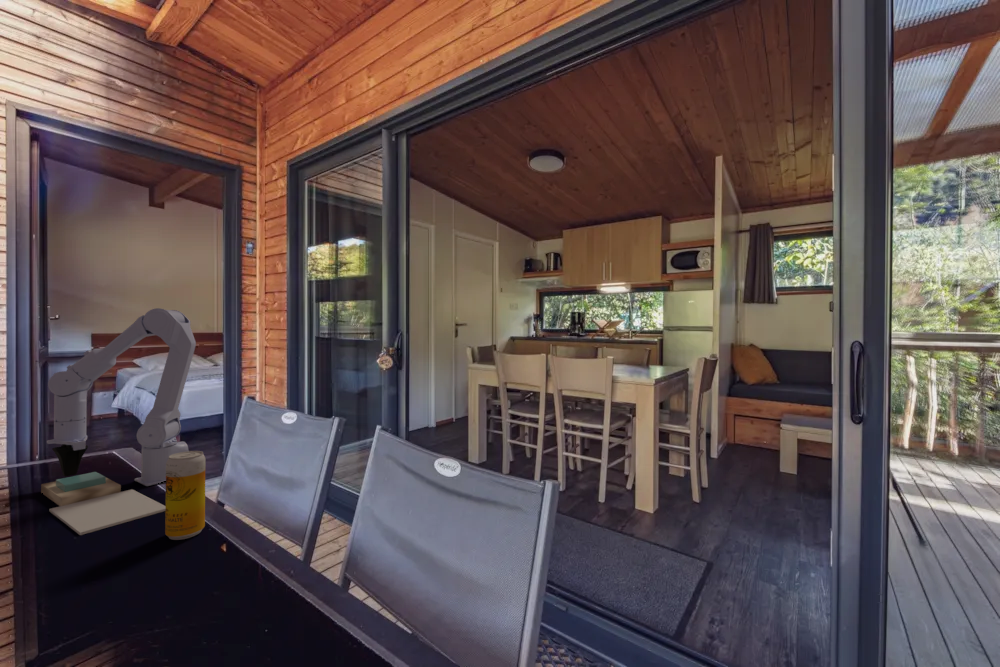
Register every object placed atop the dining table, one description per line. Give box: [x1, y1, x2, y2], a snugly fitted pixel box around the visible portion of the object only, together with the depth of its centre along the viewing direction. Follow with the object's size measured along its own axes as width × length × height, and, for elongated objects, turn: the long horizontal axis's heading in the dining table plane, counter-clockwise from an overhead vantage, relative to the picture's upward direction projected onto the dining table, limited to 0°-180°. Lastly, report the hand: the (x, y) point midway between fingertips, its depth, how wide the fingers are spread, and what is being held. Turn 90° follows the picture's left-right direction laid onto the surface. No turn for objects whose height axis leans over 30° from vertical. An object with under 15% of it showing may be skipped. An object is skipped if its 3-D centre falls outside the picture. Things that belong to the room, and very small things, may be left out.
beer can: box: [164, 450, 206, 541], centre depth 82 cm, size 6×6×15 cm
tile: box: [55, 471, 107, 492], centre depth 102 cm, size 7×7×2 cm
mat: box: [48, 488, 166, 536], centre depth 92 cm, size 14×20×1 cm
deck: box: [40, 477, 122, 507], centre depth 102 cm, size 10×16×2 cm, turn 58°
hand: (70, 474), depth 107 cm, fingers closed
